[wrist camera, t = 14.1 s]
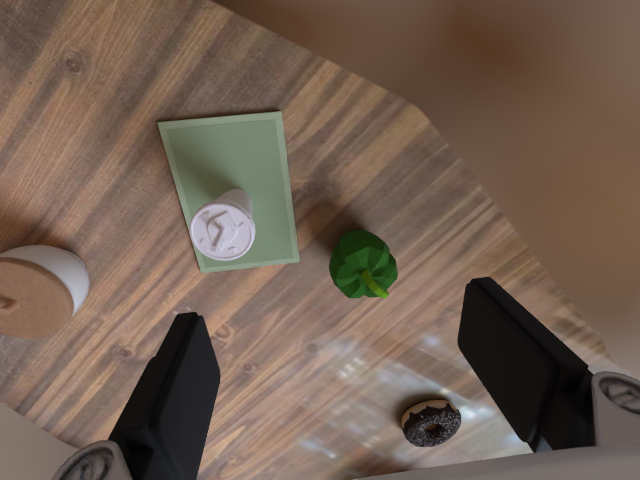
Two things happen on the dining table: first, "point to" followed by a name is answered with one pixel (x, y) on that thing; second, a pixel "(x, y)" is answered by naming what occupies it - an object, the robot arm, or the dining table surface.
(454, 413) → the donut
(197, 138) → the placemat
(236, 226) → the smoothie
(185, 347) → the robot arm
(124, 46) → the dining table surface
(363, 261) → the bell pepper
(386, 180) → the dining table surface
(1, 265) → the trinket box
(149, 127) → the dining table surface
